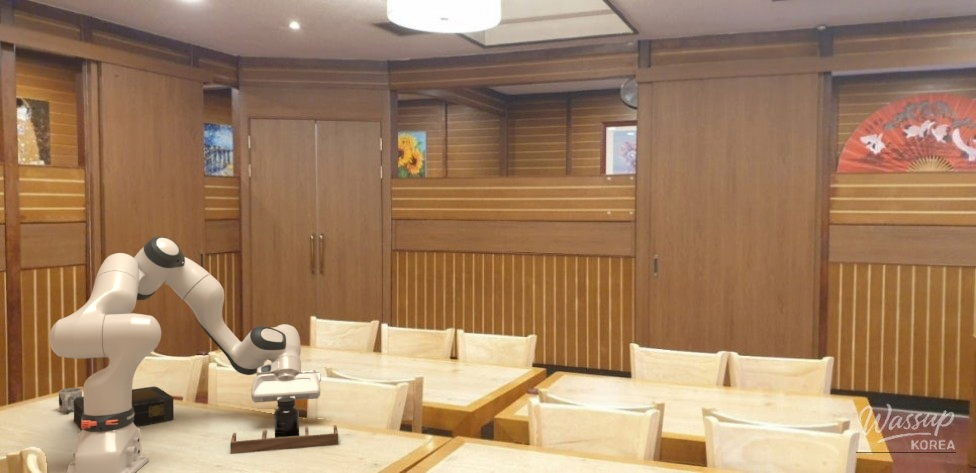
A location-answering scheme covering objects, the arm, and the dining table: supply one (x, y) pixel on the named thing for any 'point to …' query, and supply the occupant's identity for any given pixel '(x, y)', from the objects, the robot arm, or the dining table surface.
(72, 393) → the mug
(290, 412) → the supplement bottle
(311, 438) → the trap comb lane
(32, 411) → the dining table surface
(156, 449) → the dining table surface
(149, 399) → the cash box
